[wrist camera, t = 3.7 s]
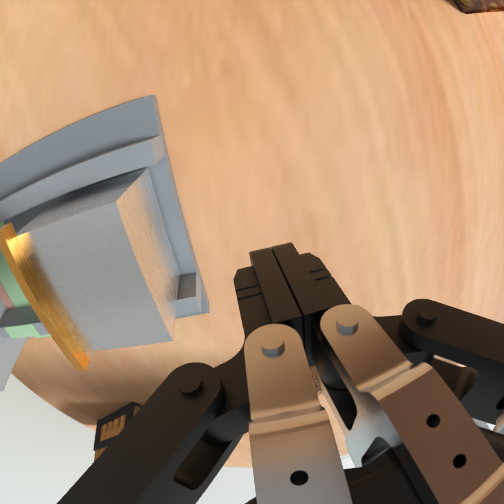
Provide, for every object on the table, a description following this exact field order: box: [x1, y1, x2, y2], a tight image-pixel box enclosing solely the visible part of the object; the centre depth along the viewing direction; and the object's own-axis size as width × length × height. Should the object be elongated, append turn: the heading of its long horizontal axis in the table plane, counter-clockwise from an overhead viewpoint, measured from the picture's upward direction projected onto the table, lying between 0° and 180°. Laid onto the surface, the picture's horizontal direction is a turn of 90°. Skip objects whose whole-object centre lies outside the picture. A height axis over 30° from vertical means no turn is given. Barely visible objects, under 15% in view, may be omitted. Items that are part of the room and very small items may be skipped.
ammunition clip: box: [94, 402, 142, 462], centre depth 23 cm, size 11×2×12 cm, turn 130°
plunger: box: [0, 168, 180, 371], centre depth 13 cm, size 6×8×7 cm
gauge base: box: [0, 95, 209, 391], centre depth 13 cm, size 22×15×8 cm
